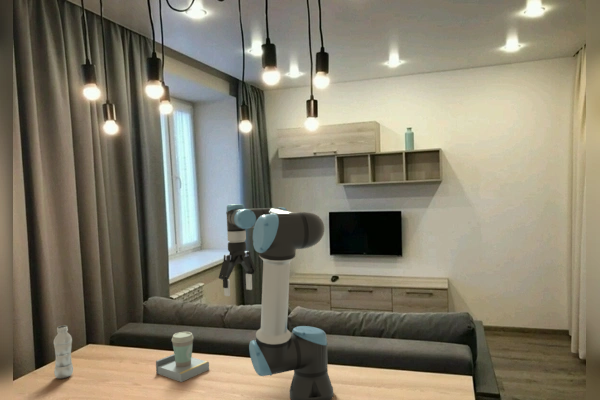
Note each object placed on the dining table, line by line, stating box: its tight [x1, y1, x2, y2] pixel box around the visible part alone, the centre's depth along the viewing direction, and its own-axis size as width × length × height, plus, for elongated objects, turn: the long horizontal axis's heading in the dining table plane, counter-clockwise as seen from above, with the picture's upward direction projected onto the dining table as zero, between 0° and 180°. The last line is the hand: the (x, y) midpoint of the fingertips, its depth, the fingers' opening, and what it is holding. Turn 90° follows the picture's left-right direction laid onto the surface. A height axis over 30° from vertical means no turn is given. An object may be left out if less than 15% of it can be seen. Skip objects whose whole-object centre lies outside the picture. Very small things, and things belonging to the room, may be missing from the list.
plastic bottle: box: [53, 325, 74, 380], centre depth 176 cm, size 6×7×20 cm
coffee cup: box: [171, 331, 194, 367], centre depth 178 cm, size 9×8×12 cm
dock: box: [155, 353, 210, 383], centre depth 178 cm, size 15×14×5 cm
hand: (238, 292), depth 184 cm, fingers open, 13 cm apart
